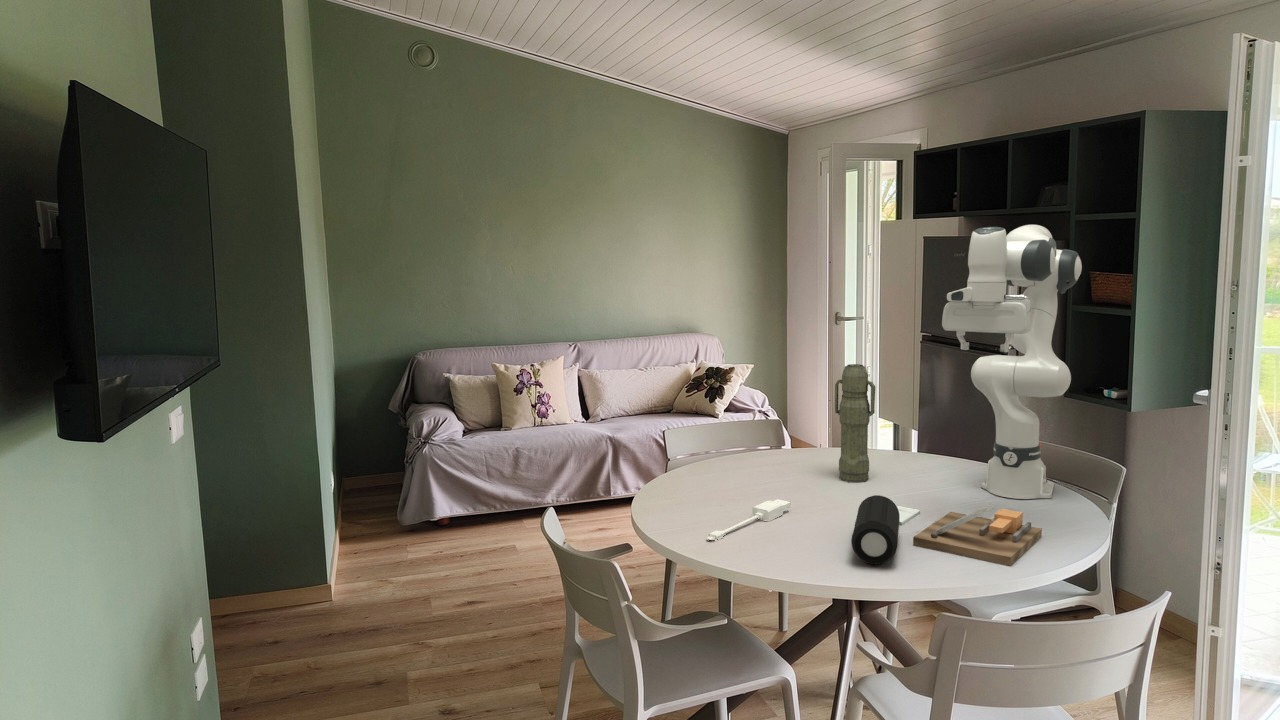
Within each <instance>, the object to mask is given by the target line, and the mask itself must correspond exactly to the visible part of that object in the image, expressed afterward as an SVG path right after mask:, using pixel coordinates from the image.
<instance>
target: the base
mask: <svg viewBox="0 0 1280 720" xmlns="http://www.w3.org/2000/svg"><path fill="white" fill-rule="evenodd" d="M966 515H967V514H965V513H964V514H963V513H959V512H955V511H949V512H948V513H946V514H945V515H943V516H942V517H941V518H939V519H938V520H936V521H934V522H933V523H931V525H929V526H927V527H926V528H925V529H923V530H921V531H920V532H919V533H917V534H915V535H914V536H913V537H912V545H913V546H915V547H920V548H924V549H929V550H935V551H938V552H942V553H949V554H952V555H953V554H954V555H958V556H962V557H967V558H971V559H976V560H981V561H985V562H990V563H994V564H999V565H1003V566H1008V567H1011V566H1013V565H1014V564H1015V563H1016V562H1017V561H1018V559H1019V558H1021V557H1022V556H1023V555H1024V554H1025V553H1026V552H1028V550H1029V549H1030V548H1031V547H1032V546H1033V545H1035V543H1037V542H1038V541H1039V540H1040V539H1041V538H1042V536H1043V535H1042V534H1043V533H1042V532H1043V528H1042V527H1036V526H1032V522H1031V521H1027V522H1026V523H1025V524H1022V528H1020V529H1019V530H1018V531H1017V532H1016V533H1015V534H1012V533H1007V532H1003V533H999V532H994V531H989V525H990V524H992V523H993V522H994V517H993V518H989V517H988V518H987V517H982V516H978V517H975V518H973V519H971V520H969V521H967V522H965V523H963V524H961V525H958V526H956V527H954V528H952V529H950V530H948V531H946V532H944V533H941V534H939V535H938V532H936V530H938V529H939V528H941V527H943V526H945V525H947V524H949V523H951V522H953V521H955V520H957V519H960V518H962V517H964V516H966Z"/></svg>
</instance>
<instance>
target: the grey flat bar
mask: <svg viewBox="0 0 1280 720" xmlns="http://www.w3.org/2000/svg"><path fill="white" fill-rule="evenodd" d="M993 508H994V506H993V504H991V503H989V504H987V505H985V506H983V507H981V508H979V509H976V510H974V511H972V512H970V513H968V514H966V516H964V517H962V518H960V519H957V520H955V521H953V522H951V523H949V524H947V525H945V526H943V527H941V528H939V529H938V530H936V532H938V535H939V534H941V533H944V532H946V531H948V530H950V529H952V528H954V527H956V526H958V525H961V524H963V523H965V522H967V521H969V520H971V519H973V518H975V517H981V515H984V514H986V513H988V512H989V511H991V510H992V509H993Z"/></svg>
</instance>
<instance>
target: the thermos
mask: <svg viewBox="0 0 1280 720" xmlns="http://www.w3.org/2000/svg"><path fill="white" fill-rule="evenodd" d="M868 373H869V372H868V371H867V367H866V366H865V365H863V364H859V363H858V364H857V363H853V364H851V363H850V364H847V365H845V366H844V368H843V371H842V373H841V378H840V379H838V380H836V382H835V385H834V411H835V414H838V415H837V416H839V424H840V457H839V459H838V471H839V477H838V478H839V480H841V481H842V482H846V483H854V484H855V483H865V482H868V481H869V472H870V458H869V453H868V449H869V447H868V446H869V445H868V443H869V442H868V441H869V439H868V438H869V437H868V436H869V434H868V433H869V424H870V417H871V416H873V415H874V414H875V413H876V412H875V410H876V409H875V408H876V407H875V406H876V405H875V403H876V384H874V382H873V381H870V380H869V374H868ZM839 384H841V391H842V395H841V401H840V404H839ZM869 386H870V402H869V396H868V392H869Z"/></svg>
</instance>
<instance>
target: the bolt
mask: <svg viewBox="0 0 1280 720" xmlns="http://www.w3.org/2000/svg"><path fill="white" fill-rule="evenodd" d="M1023 516H1024V512H1021V511H1016V510H1010V509H1005V508H1000V509H998V511H996V512H995V513H994V517H993V518H994V522H993V523H992V524H990V525H989V531H994V532H999V533H1003V532H1007V533H1012V534H1015V533H1016V532H1017V531H1018V530H1019V529H1020V528H1022V525H1023V519H1024V518H1023Z"/></svg>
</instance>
